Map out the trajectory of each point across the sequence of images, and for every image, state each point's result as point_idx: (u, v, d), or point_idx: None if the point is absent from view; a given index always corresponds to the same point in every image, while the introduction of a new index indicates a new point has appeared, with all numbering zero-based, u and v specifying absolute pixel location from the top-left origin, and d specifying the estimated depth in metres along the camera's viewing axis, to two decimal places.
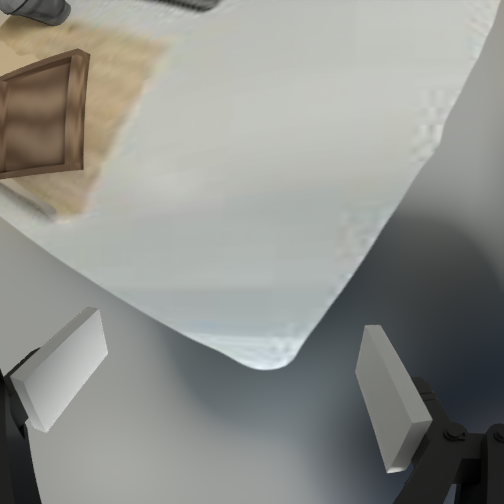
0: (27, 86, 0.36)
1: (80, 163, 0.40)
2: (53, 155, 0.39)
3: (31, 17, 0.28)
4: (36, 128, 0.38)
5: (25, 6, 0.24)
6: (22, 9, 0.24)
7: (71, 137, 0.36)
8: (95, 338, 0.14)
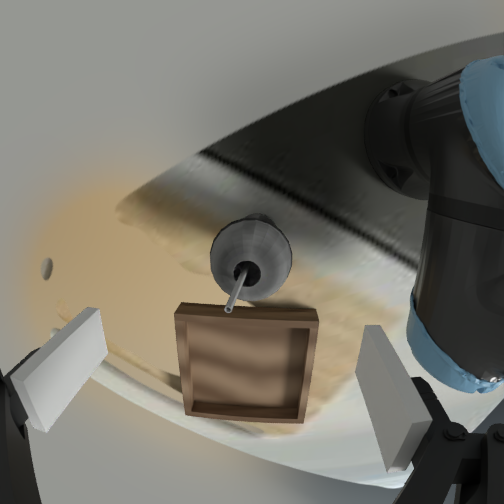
0: (222, 327, 0.42)
1: None
2: (270, 400, 0.45)
3: None
4: (244, 374, 0.44)
5: None
6: None
7: (307, 400, 0.42)
8: (95, 338, 0.14)
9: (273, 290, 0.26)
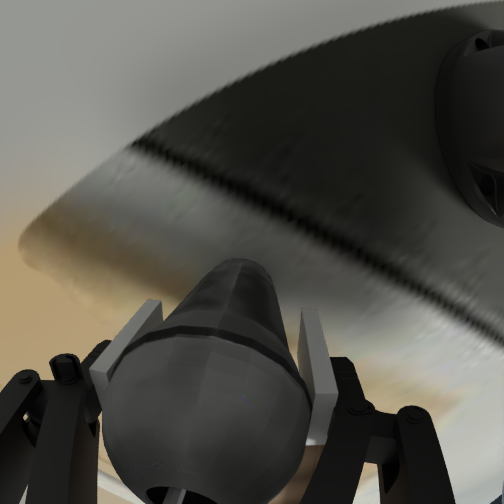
0: None
1: None
2: None
3: None
4: None
5: None
6: None
7: None
8: None
9: None
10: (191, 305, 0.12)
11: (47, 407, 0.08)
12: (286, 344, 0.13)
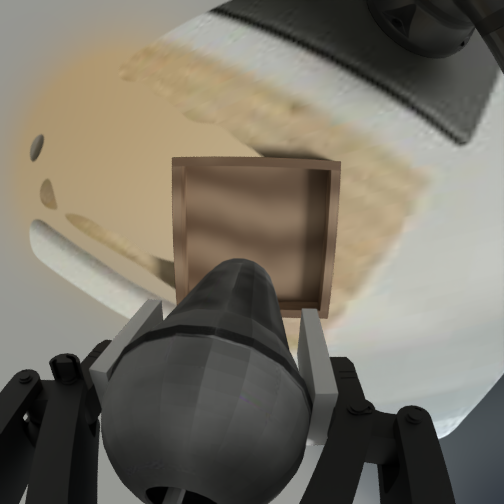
0: (227, 182, 0.36)
1: None
2: (284, 289, 0.39)
3: None
4: (253, 249, 0.38)
5: None
6: None
7: (331, 280, 0.36)
8: None
9: None
10: (191, 304, 0.12)
11: (47, 407, 0.08)
12: (286, 343, 0.13)
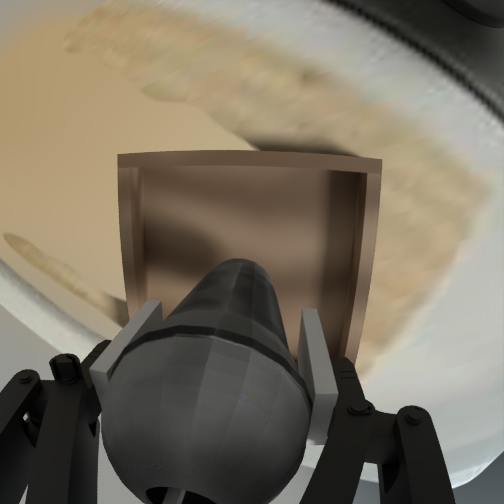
0: (203, 190, 0.23)
1: None
2: (289, 345, 0.26)
3: None
4: None
5: None
6: None
7: (359, 338, 0.23)
8: None
9: None
10: (191, 305, 0.12)
11: (47, 407, 0.08)
12: (286, 344, 0.13)
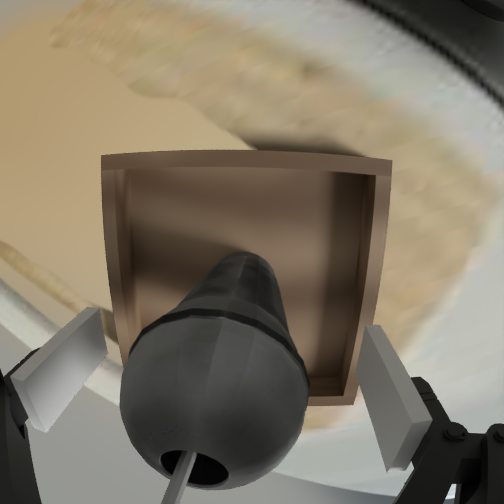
0: (195, 194, 0.21)
1: None
2: None
3: None
4: None
5: None
6: None
7: None
8: (95, 338, 0.14)
9: None
10: (201, 292, 0.14)
11: None
12: (287, 329, 0.14)
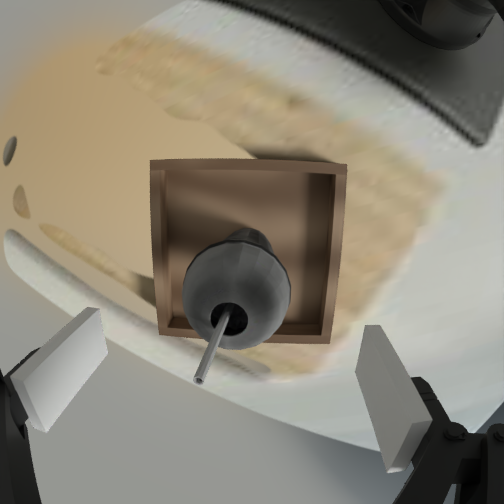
0: (214, 188, 0.31)
1: None
2: None
3: None
4: None
5: None
6: None
7: (334, 302, 0.31)
8: (95, 338, 0.14)
9: (265, 338, 0.19)
10: None
11: None
12: None
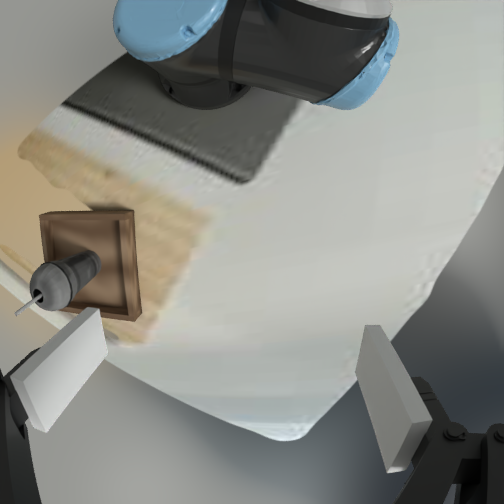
0: (72, 228, 0.49)
1: (139, 309, 0.53)
2: (112, 298, 0.52)
3: None
4: None
5: None
6: None
7: (132, 295, 0.49)
8: (95, 338, 0.14)
9: (56, 305, 0.38)
10: None
11: None
12: (77, 272, 0.42)
